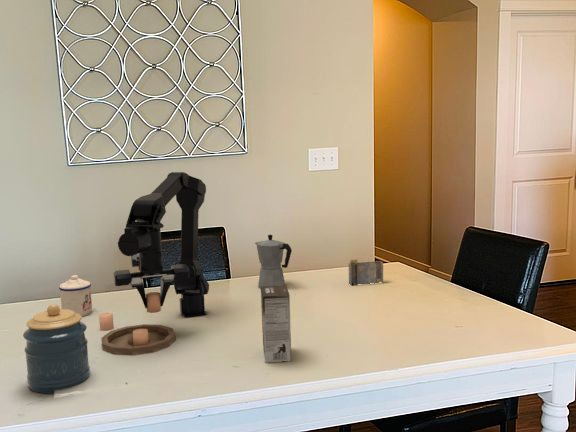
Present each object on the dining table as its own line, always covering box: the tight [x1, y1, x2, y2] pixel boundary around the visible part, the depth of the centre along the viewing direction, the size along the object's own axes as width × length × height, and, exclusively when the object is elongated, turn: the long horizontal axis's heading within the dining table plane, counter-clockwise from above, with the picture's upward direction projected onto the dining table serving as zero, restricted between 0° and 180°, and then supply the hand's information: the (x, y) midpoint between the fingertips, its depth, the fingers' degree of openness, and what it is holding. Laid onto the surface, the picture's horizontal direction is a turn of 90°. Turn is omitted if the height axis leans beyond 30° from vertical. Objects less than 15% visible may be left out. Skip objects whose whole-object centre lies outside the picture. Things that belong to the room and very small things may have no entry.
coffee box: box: [260, 284, 292, 364], centre depth 150 cm, size 9×6×16 cm
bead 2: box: [133, 329, 149, 346], centre depth 155 cm, size 4×4×4 cm
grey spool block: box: [348, 258, 384, 286], centre depth 213 cm, size 11×3×10 cm, turn 99°
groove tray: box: [101, 323, 177, 356], centre depth 160 cm, size 18×18×3 cm
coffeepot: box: [254, 234, 293, 290], centre depth 212 cm, size 15×9×18 cm, turn 51°
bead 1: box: [98, 312, 115, 331], centre depth 172 cm, size 4×4×4 cm
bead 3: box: [145, 291, 162, 314], centre depth 163 cm, size 4×4×4 cm
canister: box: [22, 303, 91, 394], centre depth 137 cm, size 13×13×18 cm
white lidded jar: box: [58, 274, 93, 317], centre depth 190 cm, size 12×9×12 cm
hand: (153, 307), depth 163 cm, fingers closed on bead 3, 4 cm apart
